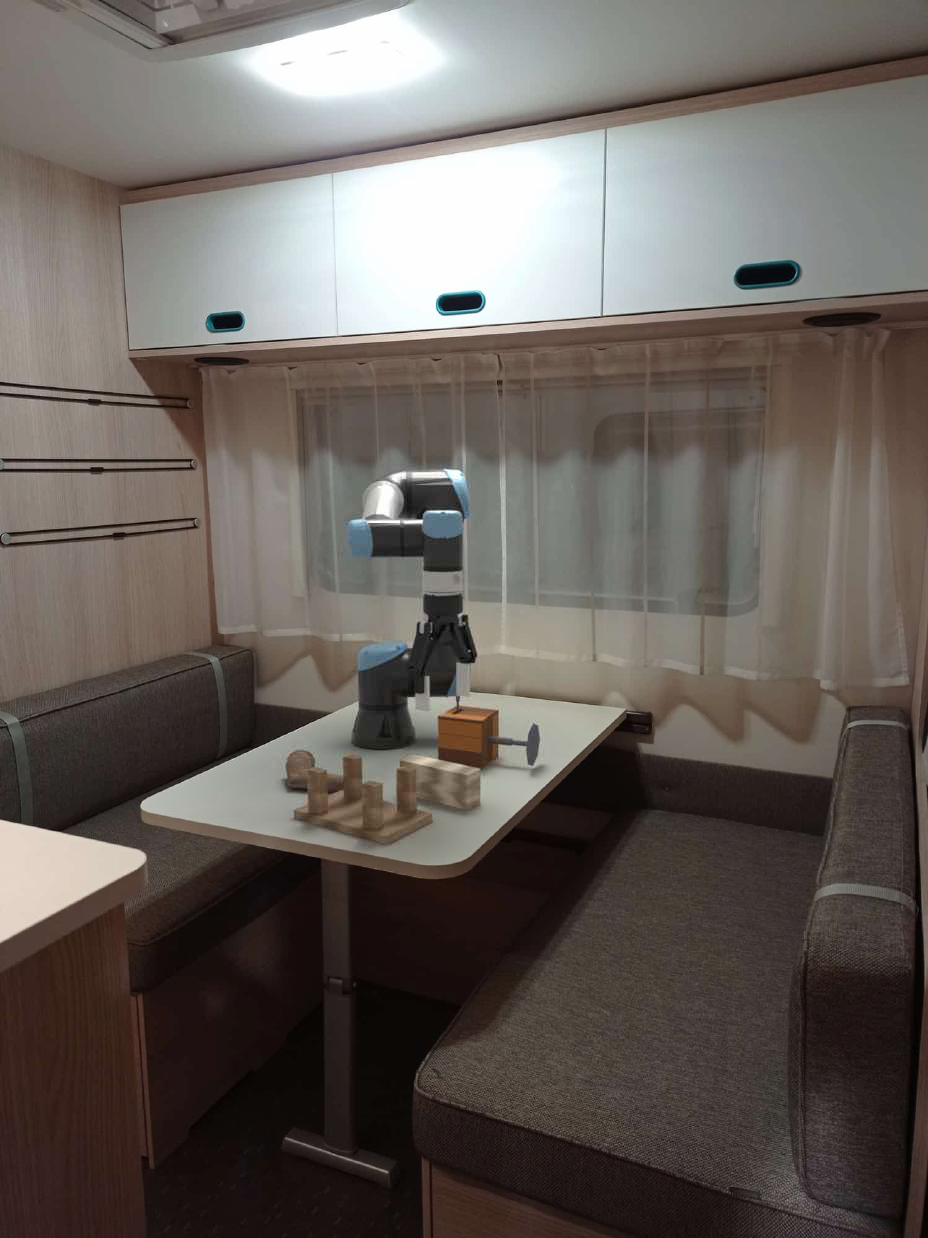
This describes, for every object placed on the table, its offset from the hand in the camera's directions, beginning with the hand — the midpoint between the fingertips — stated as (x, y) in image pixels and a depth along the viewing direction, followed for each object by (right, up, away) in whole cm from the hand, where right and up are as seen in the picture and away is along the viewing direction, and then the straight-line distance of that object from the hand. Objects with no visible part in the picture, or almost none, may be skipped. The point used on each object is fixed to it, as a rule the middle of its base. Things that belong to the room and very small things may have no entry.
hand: (443, 702), depth 172 cm
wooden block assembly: (-15, -21, -8) cm, 27 cm away
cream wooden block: (-1, -19, +3) cm, 19 cm away
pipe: (-26, -18, +10) cm, 33 cm away
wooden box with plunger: (+10, -16, +24) cm, 30 cm away
